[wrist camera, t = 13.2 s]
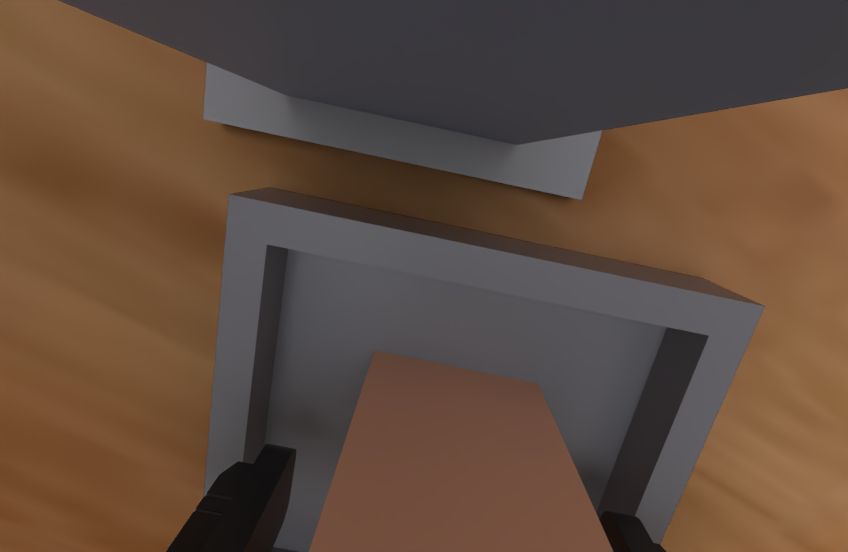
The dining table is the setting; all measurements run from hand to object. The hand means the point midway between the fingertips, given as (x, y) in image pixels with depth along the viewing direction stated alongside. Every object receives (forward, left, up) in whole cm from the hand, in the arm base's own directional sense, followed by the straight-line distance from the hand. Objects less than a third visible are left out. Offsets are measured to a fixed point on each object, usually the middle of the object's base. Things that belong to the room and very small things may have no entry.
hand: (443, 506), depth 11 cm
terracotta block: (0, 0, -3) cm, 3 cm away
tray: (0, 0, -4) cm, 4 cm away
